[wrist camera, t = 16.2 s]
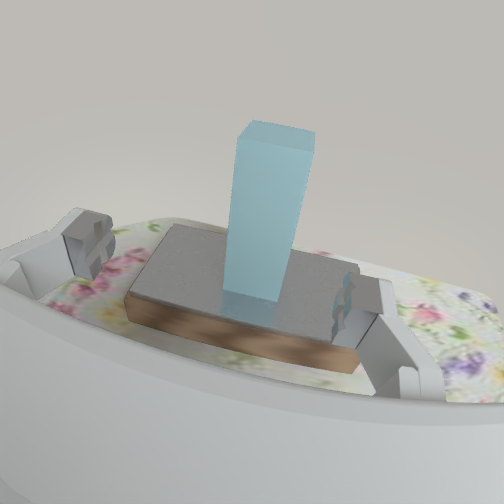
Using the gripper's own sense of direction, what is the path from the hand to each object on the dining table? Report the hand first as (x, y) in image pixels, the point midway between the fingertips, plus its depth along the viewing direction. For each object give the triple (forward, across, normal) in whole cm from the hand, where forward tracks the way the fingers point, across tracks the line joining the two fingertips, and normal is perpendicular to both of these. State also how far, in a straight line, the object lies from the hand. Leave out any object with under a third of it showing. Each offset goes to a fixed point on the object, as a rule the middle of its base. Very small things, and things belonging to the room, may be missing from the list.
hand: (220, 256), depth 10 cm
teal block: (+14, 0, +14) cm, 20 cm away
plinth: (+14, -1, +18) cm, 23 cm away
